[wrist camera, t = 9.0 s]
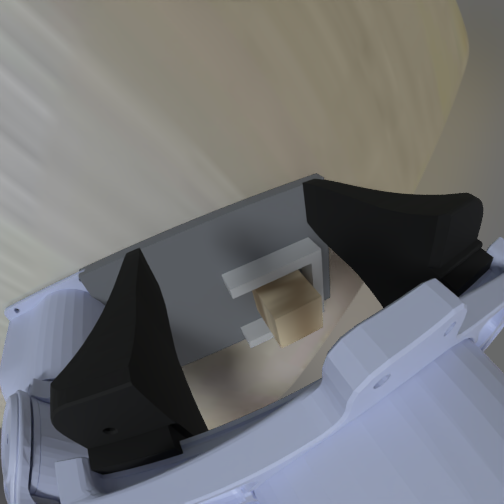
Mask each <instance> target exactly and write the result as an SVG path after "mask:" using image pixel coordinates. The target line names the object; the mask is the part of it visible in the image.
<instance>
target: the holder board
mask: <svg viewBox="0 0 504 504" xmlns="http://www.w3.org/2000/svg"><path fill="white" fill-rule="evenodd" d="M312 179H323V180H324V177H322V176H320V175H319V174H317V173H316V174H313V175H310V176H307V177H305V178H302V179H299V180H296V181H293V182H290V183H288V184H285V185H282V186H279V187H277V188H274V189H271V190H268V191H266V192H263V193H260V194H258V195H255V196H252V197H250V198H247V199H244V200H242V201H239V202H237V203H234V204H231V205H229V206H226V207H224V208H221V209H219V210H216V211H214V212H211V213H209V214H206V215H204V216H201V217H199V218H196V219H194V220H191V221H189V222H186V223H184V224H181V225H179V226H177V227H174V228H172V229H169V230H167V231H165V232H162V233H160V234H158V235H155V236H153V237H151V238H148V239H146V240H144V241H141V242H139V243H137V244H134V245H132V246H130V247H128V248H125V249H123V250H121V251H119V252H116V253H114V254H112V255H110V256H108V257H105V258H103V259H101V260H99V261H97V262H95V263H92V264H90V265H88V266H86V267H84V268H82V269H80V270H79V271H81V270H83V269H85V270H84V272H82V273H80V274H79V279H80V280H81V282H82V283H83V285H84V286H85V288H86V289H87V291H88V292H89V294H90V295H91V297H93V298H95V299H97V300H98V301H100V302H101V303H102V304H104V305H105V306H106V303H107V301H108V299H109V296H110V294H111V292H112V289H113V287H114V284H115V282H116V279H117V276H118V274H119V271H120V268H121V265H122V262H123V260H124V257H125V255H126V253H128V252H130V251H133V250H135V249H137V248H139V247H140V249H141V251H142V253H143V255H144V257H145V259H146V261H147V263H148V265H149V267H150V269H151V271H152V273H153V274H154V276H155V278H156V280H157V282H158V284H159V286H160V289H161V292H162V295H163V298H164V301H165V304H166V309H167V314H168V318H169V323H170V328H171V332H172V337H173V341H174V346H175V350H176V353H177V357H178V360H179V363H180V365H181V366H184V365H186V364H189V363H191V362H194V361H196V360H198V359H201V358H203V357H206V356H208V355H210V354H213V353H215V352H217V351H219V350H222V349H224V348H226V347H229V346H231V345H233V344H235V343H238V342H240V341H242V340H244V339H246V340H247V342H248V344H249V346H250V347H251V348H252V347H254V346H256V345H258V344H261V343H263V342H265V341H267V340H269V339H271V338H273V337H274V336H273V334H272V333H271V331H270V329H269V328H268V326H267V325H266V323H265V321H264V320H263V318H262V317H261V315H260V313H259V312H258V310H257V307H256V303H255V300H254V296H253V293H252V290H254V289H256V288H259V287H261V286H263V285H265V284H267V283H270V282H272V281H274V280H276V279H278V278H281V277H283V276H285V275H287V274H289V273H291V272H294V271H296V270H299V271H300V272H301V273H302V275H303V276H304V277H305V278H306V279H307V280H308V281H309V283H310V284H311V285H312V286H313V287H314V288H315V289H316V290H317V292H318V293H319V294H320V295H321V296H322V313H323V312H324V300H326V299H328V298H330V277H329V250H328V245H327V244H325V243H324V242H323V241H322V240H321V239H320V238H319V237H318V235H317V234H316V233H315V232H314V231H313V229H312V228H311V227H310V226H309V224H308V223H307V218H306V209H305V201H304V192H303V184H302V183H303V182H306V181H309V180H312Z"/></svg>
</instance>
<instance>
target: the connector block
mask: <svg viewBox="0 0 504 504" xmlns="http://www.w3.org/2000/svg"><path fill="white" fill-rule="evenodd" d="M252 293H253V296H254V300H255V303H256V307H257V310H258V312H259V313H260V315H261V317H262V318H263V320H264V321H265V323H266V325H267V326H268V328H269V329H270V331H271V333H272V334H273V336H274V337H275V339H276V340H277V342H278V344H279V345H280V347H281V348H284V347H286V346H288V345H290V344H292V343H294V342H296V341H298V340H300V339H301V338H303V337H305V336H307V335H309V334H311V333H313V332H315V331H317V330H319V329H320V328H322V327H323V317H322V296H321V295H320V294H319V293H318V292H317V290H316V289H315V288H314V287H313V286H312V285H311V284H310V283H309V281H308V280H307V279H306V278H305V277H304V276H303V275H302V273H301V272H300V271H299V270H296V271H294V272H291V273H289V274H287V275H285V276H283V277H281V278H278V279H276V280H274V281H272V282H270V283H267V284H265V285H263V286H261V287H259V288H256V289H254V290H252Z"/></svg>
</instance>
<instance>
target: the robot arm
mask: <svg viewBox="0 0 504 504" xmlns="http://www.w3.org/2000/svg"><path fill="white" fill-rule="evenodd" d="M302 184H303V192H304V201H305V209H306V218H307V223H308V224H309V226H310V227H311V228H312V229H313V231H314V232H315V233H316V234H317V235H318V237H319V238H320V239H321V240H322V241H323V242H324V243H325V244H327V245H328V246H329V247H330V248H331V249H332V250H333V251H334V252H335V253H336V254H337V255H338V256H340V257H341V258H342V259H343V260H344V261H345V262H346V263H347V264H348V265H349V266H350V267H351V268H352V269H353V270H354V271H355V272H356V273H357V274H358V275H359V276H360V278H361V279H362V280H363V281H364V282H365V284H366V285H367V286H368V287H369V288H370V290H371V291H372V293H373V294H374V295H375V297H376V298H377V299H378V301H379V302H380V303H381V305H382V306H383V309H382V310H380V311H379V312H377V313H375V314H374V315H372V316H370V317H369V318H367V319H366V320H364V321H362V322H361V323H359V324H357V325H356V326H354V328H352V329H351V330H349V331H348V332H347V333H345V334H344V335H343V336H341V337H340V338H339V339H338V341H337V342H336V343H335V344H334V345H333V347H332V348H331V349H330V350H329V351H328V353H327V356H326V359H325V362H324V364H323V368H322V378H320V379H319V380H317V381H315V382H313V383H311V384H309V385H307V386H306V387H304V388H302V389H300V390H298V391H296V392H294V393H292V394H290V395H288V396H286V397H284V398H282V399H280V400H278V401H276V402H274V403H272V404H270V405H267V406H265V407H263V408H261V409H259V410H257V411H254V412H252V413H250V414H248V415H245V416H243V417H241V418H238V419H236V420H234V421H231V422H229V423H227V424H224V425H222V426H219V427H217V428H214V429H211V430H208V428H207V426H206V424H205V422H204V420H203V418H202V416H201V414H200V411H199V409H198V407H197V405H196V402H195V400H194V398H193V396H192V393H191V391H190V388H189V386H188V383H187V381H186V378H185V376H184V373H183V371H182V368H181V365H180V363H179V360H178V357H177V353H176V350H175V346H174V341H173V337H172V332H171V328H170V323H169V318H168V314H167V309H166V304H165V301H164V298H163V295H162V292H161V289H160V286H159V284H158V282H157V280H156V278H155V276H154V274H153V273H152V271H151V269H150V267H149V265H148V263H147V261H146V259H145V257H144V255H143V253H142V251H141V249H140V247H139V248H137V249H135V250H133V251H130V252H128V253H126V255H125V257H124V260H123V262H122V265H121V268H120V271H119V274H118V276H117V279H116V282H115V284H114V287H113V289H112V292H111V294H110V296H109V299H108V301H107V303H106V306H105V305H104V304H102V303H101V302H100V301H98V300H97V299H95V298H93V297H91V295H90V294H89V292H88V291H87V289H86V288H85V286H84V285H83V283H82V282H81V280H80V279H79V274H80V273H82V272H84V270H85V269H83V270H81V271H79V272H77V273H75V274H73V275H71V276H69V277H67V278H64V279H62V280H60V281H58V282H56V283H54V284H52V285H50V286H48V287H46V288H44V289H42V290H40V291H38V292H36V293H34V294H32V295H30V296H28V297H26V298H24V299H22V300H20V301H18V302H16V303H14V304H13V305H11V306H9V307H7V308H6V309H5V312H4V314H5V316H6V317H7V318H8V319H9V321H10V323H9V327H8V331H7V335H6V340H5V345H4V350H3V355H2V360H1V366H0V385H1V390H2V393H3V396H4V399H5V401H6V406H5V411H4V416H3V424H2V435H1V462H2V471H3V478H4V492H5V496H6V500H7V502H8V504H504V373H503V372H502V371H501V370H500V369H499V368H498V367H497V366H496V365H495V364H494V363H493V362H492V361H491V359H490V358H489V357H488V356H487V355H486V354H484V351H485V350H486V348H487V347H488V346H489V345H490V344H491V342H492V341H493V340H494V339H495V337H496V336H497V335H498V334H499V332H500V331H501V330H502V329H503V327H504V239H503V238H502V237H499V238H498V239H497V240H496V241H494V242H493V243H492V244H491V245H490V246H489V247H488V249H487V251H484V250H483V249H482V248H481V247H482V242H481V241H479V240H478V239H477V237H478V233H479V230H480V226H481V221H482V217H483V205H482V202H481V200H480V199H478V198H477V197H475V196H473V195H472V194H469V193H459V194H447V195H415V194H400V193H392V192H384V191H378V190H373V189H367V188H362V187H357V186H353V185H348V184H343V183H339V182H334V181H329V180H323V179H312V180H309V181H306V182H303V183H302ZM16 308H17V309H19V310H17V309H16Z"/></svg>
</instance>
